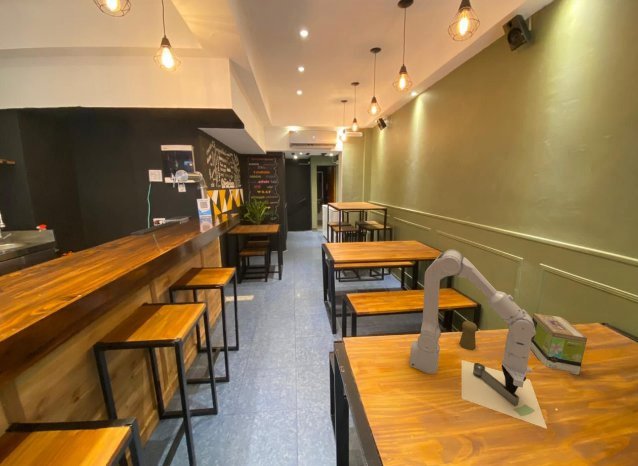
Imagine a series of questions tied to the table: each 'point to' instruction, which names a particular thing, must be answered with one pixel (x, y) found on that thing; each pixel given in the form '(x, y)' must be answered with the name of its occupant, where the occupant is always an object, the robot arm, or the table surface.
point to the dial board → (490, 398)
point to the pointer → (495, 384)
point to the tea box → (558, 343)
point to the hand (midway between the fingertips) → (510, 391)
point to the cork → (468, 335)
